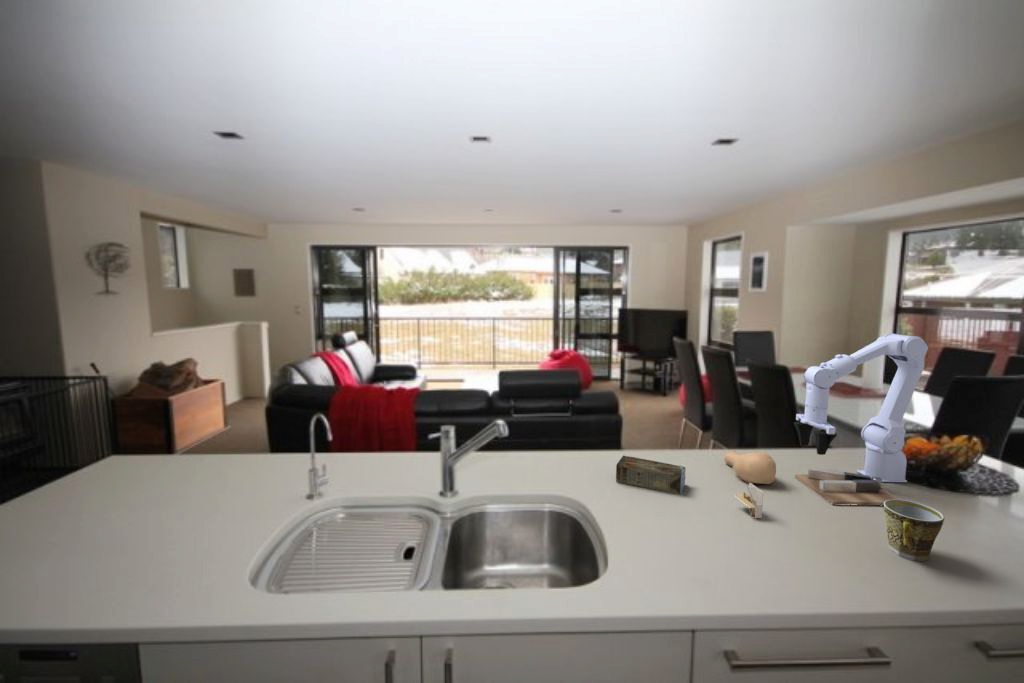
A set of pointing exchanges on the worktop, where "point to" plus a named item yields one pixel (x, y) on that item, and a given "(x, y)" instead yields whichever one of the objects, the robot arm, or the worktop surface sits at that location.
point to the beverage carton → (650, 474)
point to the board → (847, 494)
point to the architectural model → (753, 500)
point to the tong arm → (839, 476)
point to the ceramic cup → (911, 528)
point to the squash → (752, 466)
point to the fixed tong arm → (849, 486)
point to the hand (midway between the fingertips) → (812, 449)
